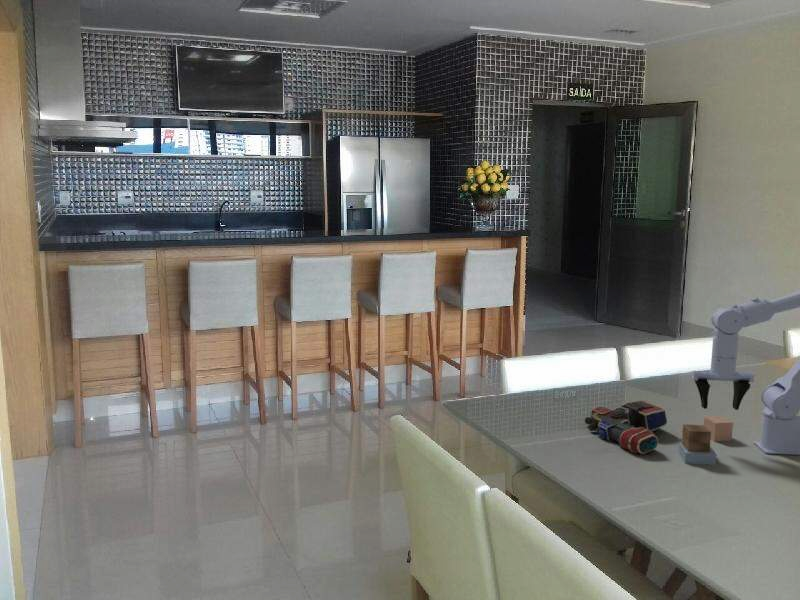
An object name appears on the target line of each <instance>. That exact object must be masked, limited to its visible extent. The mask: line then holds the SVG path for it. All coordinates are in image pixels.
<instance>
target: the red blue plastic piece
mask: <svg viewBox="0 0 800 600" xmlns="http://www.w3.org/2000/svg"><path fill="white" fill-rule="evenodd" d="M590 413H591V415H590V416H589V417H585V418H584V423H585V425H586V424H587V428H588V431H590V432H592V431H593V432H594V431H595V432H596V433H597V434H598V435H599V436H600V437H601V438H603V439H604V440H607V441H613V440H615V441H616V442H617V443H618V445H619V446H620V447H622V448H623V449H625V450H627V451H629V452H631V453H634V454H635V453H636V454H641V455H645V454H647V453H649V452H650V451H651V452H652V451H654V450H656V449H657V447H658V445H659V439H658V437H657V435H655V433H654V431H656V430H658V429H660V428H663V427H665V426H666V425H667V424H668V418H667V414H666V409H664V408H662V407H660V406H657V405H655V404H652V403H649V402H647V401H645V400H640V399H639V400H634V401H629V402H625V403H622V404H620V406H619V407H618V406H617V407H615V409H609V408H607V407H603V406H598V407H596V408H593V409H592V410H591V411H590Z"/></svg>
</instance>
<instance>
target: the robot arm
mask: <svg viewBox="0 0 800 600" xmlns="http://www.w3.org/2000/svg"><path fill="white" fill-rule="evenodd" d="M750 299H751V301H747V302H744V303H740V304H736V303H735V304H731V307H720V308H719V309H717V310H716V311H715V312H714V313H713V316H712V317H711V319H710V320H711V323H712V325H713V326H714V327H713V328H714V329H713V338H712V346H711V347H712V348H711V362H710V370H709V369H707V370H692V371H691V377H690V378H691V380H693V381H694V383H695V384H696V388H697V390H698V393H699V397H700V404H701V407H702V408H703V409H705V410H707V409H708V404H709V403H708V400H709V399H708V398H709V393H710V389H711V388H710V387H711V384H709V381H723V382H732V383H733V397H732V398H733V399H732V408H733V410H735V411H739V409H740V405H741V402H742V400H744V399H743V398H744V397H745V395H746V393H747V392H748V391H749V390H750V388H751V383H754V379H755V375H754V374H753V373H751V372H743V371H742V372H741V371H736V370H737V356H738V345H739V344H738V343H739V332H740V331H741V330H742V329H743V328H747V327H751V326H754V325H757V324H761V323H765V322H767V321H771V319H772V318H773V317H774V315H775V314H777V313H782V312H786V311H791V310H794V309H798V308H800V290H798V291H795V292H792V293H789V294H786V295H783V296H780V297H778V298H775V299H772V300H767V299H765V298H763V297H762V298H758V297H751V298H750ZM761 391H762V392H761V394H760V398H761V402H762V404H763V405H764V408H763V410H762V418H761V419H762V420H761V428H760V429H761V430H760V431H761V432H760V440H753V443H754V444H755V445H756V446H757V447H758V448H759V449H760V450H761V451H763V453H765V454H773V455H774V454H775V455H793V456H794V455H796V456H798V455H799V456H800V415H798V414H799V412H800V357H799V358H798V359H797V361H796V362H795V363H794V364H793V366H791V368H790V369H789V371H787V373H786V374H785V375H783V376H781V377H779V378H777V379H775V381H774V382H772V383H771V384H769V385H768V386H766V387H765V388H763V390H761Z"/></svg>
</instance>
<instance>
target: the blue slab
mask: <svg viewBox="0 0 800 600" xmlns="http://www.w3.org/2000/svg"><path fill="white" fill-rule="evenodd" d="M678 454H679V455H680V457H681V459H682V460H683V462H684V464H692V465H705V464H708V465H707V466H716V465H717V456H718V455H717V453H716V452H715V450H714V449H713V448H712V446H711V445H710V452H697V451H688V450H687V449H686V448H685V447H684V446H683V445H682V442H678Z"/></svg>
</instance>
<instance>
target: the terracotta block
mask: <svg viewBox="0 0 800 600" xmlns="http://www.w3.org/2000/svg"><path fill="white" fill-rule="evenodd" d="M703 425H705V426H706V427H707V428H708V429H709V430H710V431H711V440H710V441H712V442H728V441H729V442H730V441H732V440H733V428H734V422H733V421H731V420H730V419H728V418H725V417H724V416H722V415H721V416H706V417H704V418H703Z"/></svg>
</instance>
